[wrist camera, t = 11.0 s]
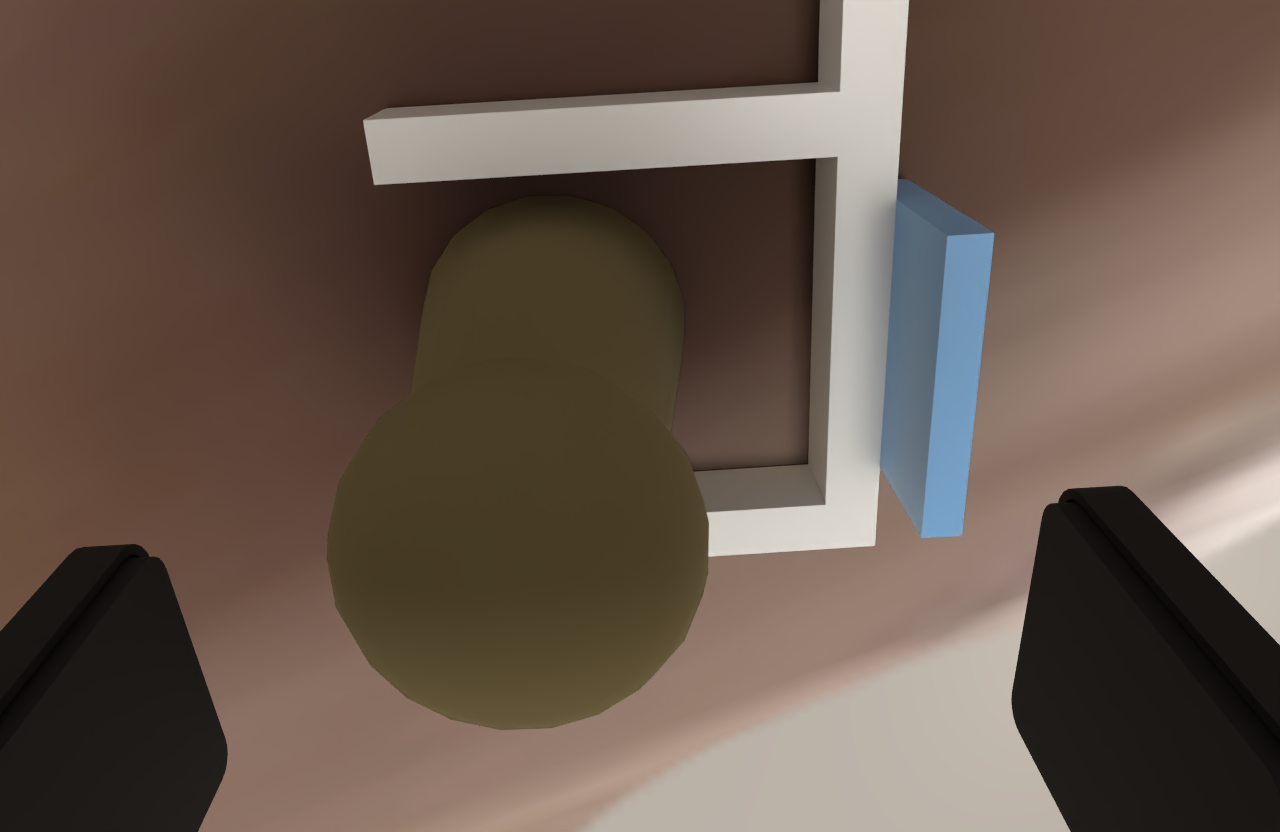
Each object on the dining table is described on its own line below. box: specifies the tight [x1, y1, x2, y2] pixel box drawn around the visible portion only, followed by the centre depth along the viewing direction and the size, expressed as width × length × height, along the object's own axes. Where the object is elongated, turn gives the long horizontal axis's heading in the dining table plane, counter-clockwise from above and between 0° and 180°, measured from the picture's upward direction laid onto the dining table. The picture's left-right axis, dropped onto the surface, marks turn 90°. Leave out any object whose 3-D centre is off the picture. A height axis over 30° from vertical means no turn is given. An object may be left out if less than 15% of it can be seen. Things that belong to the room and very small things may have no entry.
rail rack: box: [363, 0, 994, 557], centre depth 17 cm, size 19×11×5 cm, turn 3°
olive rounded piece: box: [327, 195, 709, 730], centre depth 16 cm, size 6×6×11 cm
